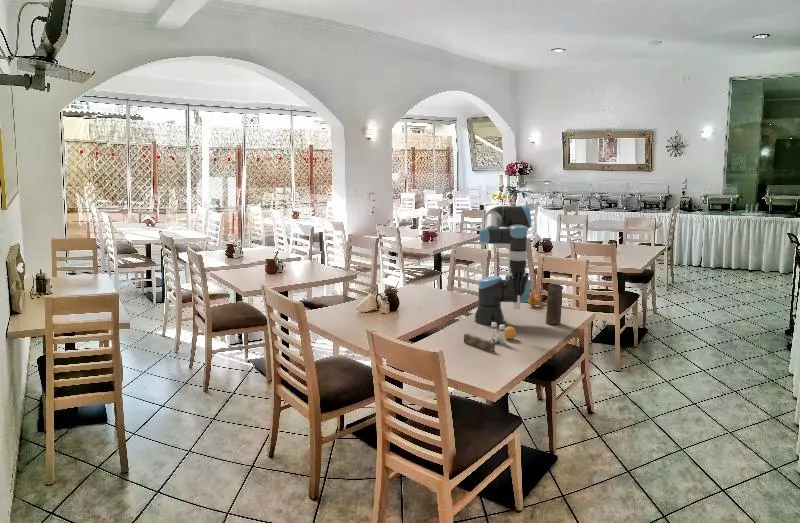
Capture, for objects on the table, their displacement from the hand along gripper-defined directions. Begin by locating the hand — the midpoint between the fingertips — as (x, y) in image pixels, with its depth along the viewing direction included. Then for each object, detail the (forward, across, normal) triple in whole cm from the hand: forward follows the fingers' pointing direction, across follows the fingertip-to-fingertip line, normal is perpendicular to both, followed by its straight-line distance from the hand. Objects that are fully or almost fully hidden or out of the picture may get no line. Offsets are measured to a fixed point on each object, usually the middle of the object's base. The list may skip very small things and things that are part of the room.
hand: (516, 308), depth 281 cm
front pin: (+13, +10, 0) cm, 16 cm away
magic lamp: (+14, -52, -35) cm, 64 cm away
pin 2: (+14, +12, +3) cm, 19 cm away
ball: (+11, +5, 0) cm, 12 cm away
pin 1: (+14, +12, -2) cm, 19 cm away
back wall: (+14, +24, 0) cm, 28 cm away
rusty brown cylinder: (+14, -32, -4) cm, 36 cm away
